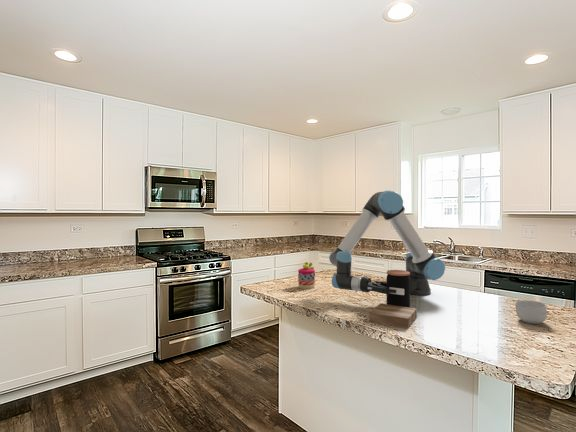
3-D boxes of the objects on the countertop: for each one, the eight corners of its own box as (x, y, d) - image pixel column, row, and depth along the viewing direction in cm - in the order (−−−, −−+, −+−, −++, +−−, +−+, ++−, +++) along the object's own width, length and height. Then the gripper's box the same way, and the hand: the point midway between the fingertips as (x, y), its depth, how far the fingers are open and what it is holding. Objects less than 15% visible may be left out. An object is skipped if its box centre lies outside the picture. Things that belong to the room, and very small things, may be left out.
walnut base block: (380, 311, 155) (380, 303, 155) (416, 317, 147) (416, 308, 147) (369, 321, 142) (369, 312, 142) (408, 328, 133) (408, 318, 133)
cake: (315, 289, 200) (315, 264, 200) (298, 289, 200) (298, 264, 200) (314, 285, 211) (314, 261, 210) (297, 285, 211) (297, 261, 211)
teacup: (548, 327, 134) (548, 307, 134) (515, 323, 140) (515, 304, 140) (544, 318, 146) (544, 300, 146) (514, 314, 152) (514, 296, 152)
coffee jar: (413, 309, 159) (413, 271, 159) (404, 314, 152) (404, 274, 151) (392, 305, 167) (392, 269, 166) (382, 309, 159) (382, 271, 159)
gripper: (369, 287, 178) (412, 292, 167) (353, 296, 159) (400, 303, 147) (369, 273, 178) (412, 277, 166) (353, 280, 159) (400, 286, 147)
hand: (407, 289), depth 157 cm, fingers closed on coffee jar, 10 cm apart
